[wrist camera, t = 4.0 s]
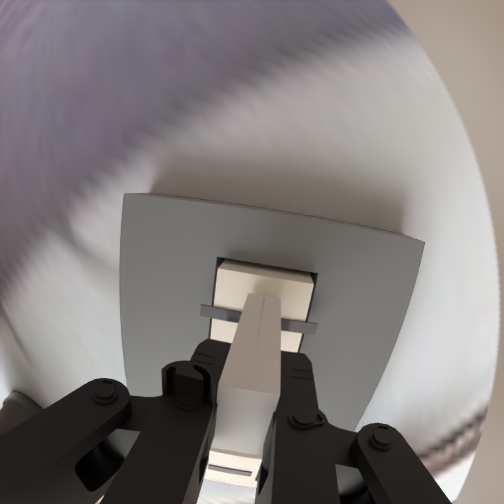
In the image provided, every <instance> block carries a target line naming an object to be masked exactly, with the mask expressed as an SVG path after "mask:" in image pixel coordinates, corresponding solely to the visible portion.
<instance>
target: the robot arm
mask: <svg viewBox="0 0 504 504" xmlns="http://www.w3.org/2000/svg"><path fill="white" fill-rule="evenodd" d="M161 375H162V395H161V396H156V397H144V396H133V395H130V393H129V391H128V389H127V387H126V386H124V385H123V384H122V383H121V382H119V381H116V380H114V379H108V378H100V379H94V380H92V381H90V382H87V383H86V384H84V385H83V386H81V387H79V388H78V389H76V390H75V391H73V392H71V393H70V394H68V395H67V396H65V397H63V398H62V399H60V400H59V401H57V402H55V403H54V404H52V405H50V406H49V407H47V408H46V409H44V410H42V409H41V408H40V407H39V406H38V405H37V404H35V403H34V402H33V401H32V400H30V399H29V398H28V397H26V396H25V395H23V394H21V393H19V392H12V393H11V394H10V395H9V396H8V397H6V398H5V400H4V402H3V407H2V408H1V410H0V504H95V503H96V502H97V501H98V500H99V499H100V498H101V497H102V496H104V497H103V499H102V500H101V502H100V504H196V503H197V500H198V496H199V493H200V490H201V486H202V483H203V479H204V476H205V472H206V469H207V465H208V462H209V452H210V449H211V445H212V447H214V448H219V449H224V450H229V451H235V452H241V453H247V454H254V455H261V454H262V451H263V455H262V462H261V465H260V467H259V470H258V473H257V476H256V478H255V481H257V488H256V496H255V504H452V503H451V502H450V501H449V499H448V498H447V496H446V495H445V494H444V492H443V491H442V490H441V488H440V487H439V485H438V484H437V483H436V481H435V480H434V478H433V477H432V476H431V474H430V473H429V472H428V470H427V469H426V467H425V466H424V465H423V463H422V462H421V461H420V459H419V458H418V457H417V455H416V454H415V452H414V451H413V450H412V448H411V447H410V446H409V444H408V443H407V442H406V440H405V439H404V437H403V436H402V435H401V434H400V433H399V432H398V431H397V430H396V429H395V428H393V427H391V426H389V425H387V424H382V423H371V424H368V425H366V426H363V427H362V429H361V430H360V431H359V432H358V433H357V432H353V431H349V430H345V429H341V428H338V427H336V426H333V425H332V424H330V423H329V422H328V419H327V417H326V415H325V414H324V413H323V412H322V411H321V410H320V409H319V407H318V400H317V394H316V387H315V381H314V375H313V368H312V362H311V361H310V360H309V358H308V357H307V356H306V355H305V353H297V352H289V351H282V350H281V298H274V297H268V296H262V295H256V294H250V293H248V295H247V298H246V302H245V305H244V308H243V311H242V314H241V317H240V320H239V323H238V326H237V329H236V332H235V335H234V338H233V341H232V343H229V342H224V341H219V340H214V339H209V338H207V339H206V340H204V341H202V342H201V343H199V344H198V346H197V348H196V349H195V351H194V354H193V355H192V357H191V359H190V361H187V360H183V361H175V362H172V363H169V364H167V365H166V366H165V367H163V368H162V369H161Z"/></svg>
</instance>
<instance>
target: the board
mask: <svg viewBox="0 0 504 504" xmlns="http://www.w3.org/2000/svg"><path fill="white" fill-rule="evenodd" d="M424 245H425V242H423V241H420V240H418V239H415V238H412V237H409V236H406V235H403V234H399V233H394V232H390V231H385V230H380V229H376V228H371V227H366V226H361V225H356V224H351V223H346V222H341V221H335V220H330V219H325V218H319V217H313V216H308V215H302V214H296V213H290V212H284V211H278V210H272V209H266V208H259V207H253V206H246V205H239V204H232V203H225V202H217V201H210V200H202V199H194V198H186V197H177V196H168V195H159V194H150V193H130V194H124V198H123V209H122V222H121V238H120V317H121V334H122V346H123V357H124V366H125V374H126V382H127V389H128V391H129V393H130V395H133V396H144V397H156V396H161V395H162V375H161V369H162V368H163V367H165V366H166V365H167V364H169V363H172V362H175V361H183V360H187V361H190V359H191V357H192V355H193V354H194V351H195V349H196V348H197V346H198V344H199V343H201V342H202V341H204V340H206V339H207V338H209V339H210V337H211V327H212V318H208V317H203V316H200V310H201V304H204V305H209V306H214V298H215V289H216V280H217V271H218V268H219V266H220V265H221V264H222V263H223V262H224V260H225V259H226V258H229V259H235V260H241V261H247V262H253V263H259V264H265V265H271V266H277V267H283V268H289V269H296V270H302V271H308V272H309V273H310V276H311V278H312V281H313V283H314V285H313V290H312V294H311V299H310V303H309V308H308V312H307V316H306V320H305V322H312V323H317V328H316V332H315V335H310V334H303V333H302V336H301V340H300V344H299V348H298V352H297V353H305V355H306V356H307V357H308V358H309V360H310V361H311V362H312V368H313V375H314V381H315V387H316V394H317V400H318V407H319V409H320V410H321V411H322V412H323V413H324V414H325V415H326V417H327V419H328V422H329V423H330V424H332V425H333V426H336V427H338V428H341V429H345V430H349V431H353V432H354V430H355V428H356V427H357V425H358V423H359V421H360V419H361V417H362V416H363V414H364V412H365V410H366V408H367V406H368V404H369V402H370V400H371V398H372V396H373V394H374V392H375V390H376V388H377V386H378V383H379V381H380V379H381V377H382V375H383V372H384V370H385V368H386V365H387V363H388V361H389V358H390V356H391V353H392V351H393V348H394V346H395V343H396V341H397V338H398V335H399V332H400V330H401V327H402V324H403V321H404V318H405V315H406V312H407V309H408V306H409V303H410V299H411V296H412V293H413V289H414V286H415V282H416V278H417V275H418V271H419V267H420V263H421V258H422V254H423V250H424Z"/></svg>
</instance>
